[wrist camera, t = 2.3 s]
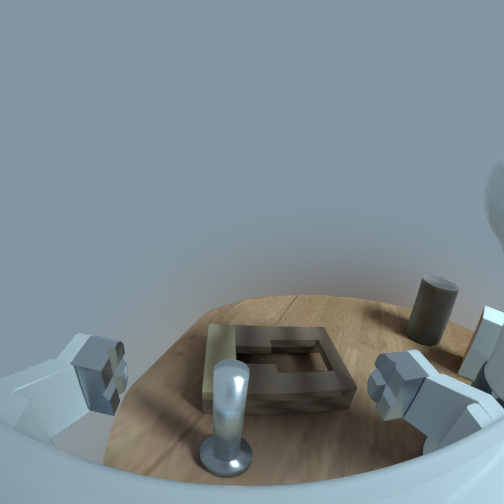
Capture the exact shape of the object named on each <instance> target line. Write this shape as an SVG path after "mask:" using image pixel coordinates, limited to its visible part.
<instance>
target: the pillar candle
mask: <svg viewBox="0 0 504 504" xmlns="http://www.w3.org/2000/svg"><path fill="white" fill-rule="evenodd" d="M458 291H459V287H458V286H457V285H456V284H455V283H453V282H451V281H449V280H447V279H444V278H443V277H442V278H441V277H437V276H431V275H424V276H423V278H422V281H421V285H420V288H419V292H418V295H417V298H416V301H415V304H414V307H413V310H412V313H411V315H410V319H409V321H408V324H407V327H406V333H407V335H408V336H409V337H410V338H411V339H412V340H414V341H416V342H417V343H420V344H424V345H429V346H433V345H436V344H438V343H439V342H440V340H441V337H442V335H443V332H444V330H445V327H446V325H447V322H448V320H449V317H450V314H451V311H452V308H453V306H454V303H455V300H456V297H457V294H458Z"/></svg>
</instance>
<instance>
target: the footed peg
mask: <svg viewBox="0 0 504 504" xmlns="http://www.w3.org/2000/svg"><path fill="white" fill-rule="evenodd" d="M249 373H250V370H249V367H248V366H247V365H246V364H245V363H243V362H241V361H239V360H234V359H226V360H222V361H220V362H218V363H217V364H216V365H215V366H214V376H213V435H212V436H210V437H208V438H207V439H205V440H204V441H203V443H202V444H201V446H200V461H201V464H202V466H203V467H204V468H205V469H206V470H207V471H208V472H209V473H211V474H213V475H215V476H218V477H223V478H231V477H236V476H239V475H241V474H242V473H244V472H245V471H246V470H247V469H248V468H249V466H250V463H251V459H252V449H251V447H250V445H249V444H248V442H247V441H246V440H244V439H243V438H241V435H242V428H243V420H244V412H245V405H246V397H247V389H248V381H249Z"/></svg>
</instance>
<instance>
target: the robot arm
mask: <svg viewBox="0 0 504 504" xmlns="http://www.w3.org/2000/svg"><path fill="white" fill-rule="evenodd" d="M484 195H485V196H484V201H485V210H486V215H487V219H488V221H489V224H490V226H491V229H492V231H493V232H494V234H495V235H496V237H497V239H498V240H499V242H500V245H501V247H502V249H503V252H504V157H501V158H499V159H498V160H497V161H496V163H495V164H494V165H493V167H492V169H491V171H490V173H489V175H488V178H487V181H486V186H485V194H484ZM124 354H125V350H124V345H123V343H122V342H121V341H117V340H112V339H108V338H103V337H98V336H94V335H89V334H85V333H77V334H76V335H75V336H74V338H73V339H72V340H71V341H70V342H69V344H68V345H67V346H66V347H65V348H64V350H63V351H62V352H61V354H60V355H59V356H58V357H57V358H56V360H54V359H50V360H47V361H44V362H42V363H39V364H37V365H34V366H32V367H29V368H27V369H24V370H21V371H18V372H16V373H13V374H10V375H8V376H5V377H2V378H0V504H504V323H503V326H502V329H501V332H500V334H499V337H498V339H497V342H496V344H495V346H494V349H493V351H492V353H491V355H490V357H489V359H488V360H487V361H486V362H484V364H483V365H482V367H481V368H480V370H479V371H478V372H477V374H476V376H475V378H474V380H473V382H472V384H471V386H469V385H467V384H465V383H462V382H460V381H458V380H456V379H453V378H451V377H449V376H447V375H445V374H439V373H438V372H437V370H436V369H435V368H434V367H433V366H432V365H431V364H430V363H429V361H428V360H427V359H426V358H425V357H424V356H423V355H422V354H421V353H420V352H419V351H418V350H415V349H414V350H407V351H403V352H394V353H383V354H380V355H379V356H378V357H377V359H376V361H375V366H376V369H375V370H374V371H373V372H372V373H371V374H370V376H369V379H368V384H367V390H368V394H369V396H370V398H371V399H372V400H373V401H375V402H377V406H376V409H377V411H378V413H379V415H380V416H381V418H382V420H383V421H387V420H392V419H398V418H402V417H404V418H403V419H405V420H406V421H407V422H409V423H410V424H411V425H413V426H414V427H416V428H417V429H418V430H420V431H421V432H422V433H424V434H425V435H427V436H428V437H427V439H426V441H425V443H424V447H423V455H422V456H419V457H417V458H414V459H411V460H408V461H405V462H402V463H398V464H395V465H392V466H388V467H385V468H381V469H377V470H373V471H369V472H365V473H361V474H356V475H351V476H346V477H341V478H335V479H329V480H323V481H315V482H307V483H298V484H286V485H268V486H228V485H210V484H198V483H189V482H181V481H173V480H167V479H161V478H155V477H150V476H145V475H140V474H136V473H131V472H127V471H123V470H119V469H115V468H112V467H108V466H105V465H101V464H98V463H95V462H91V461H88V460H86V459H83V458H80V457H77V456H74V455H72V454H69V453H66V452H64V451H61V450H59V449H56V447H55V446H54V444H53V443H52V441H51V438H52V437H54V436H55V435H56V434H58V433H59V432H61V431H62V430H64V429H65V428H67V427H68V426H69V425H71V424H72V423H74V422H75V421H76V420H78V419H79V418H81V417H82V416H84V415H85V414H86V413H88V412H89V410H91V411H95V412H99V413H103V414H108V415H112V416H114V415H115V412H116V410H117V407H118V405H119V403H120V399H119V394H121V393H122V392H124V390H125V388H126V385H127V380H128V368H127V364H126V362H125V361H124V360H123V359H122V357H123V355H124Z"/></svg>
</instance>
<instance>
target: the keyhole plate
mask: <svg viewBox="0 0 504 504" xmlns="http://www.w3.org/2000/svg"><path fill="white" fill-rule="evenodd" d="M317 352H320V354H321V356H322V359H323V361H324V363H325V365H326V367H327V369H328V371H319V372H293V373H278V371H277V367H276V364H246V365H247V366H248V367H249V370H250V373H249V381H248V389H247V397H246V405H245V412H244V415H278V414H298V413H312V412H323V411H332V410H340V409H348V407H349V405H350V403H351V401H352V398H353V396H354V394H355V391H356V389H357V386H356V385H355V383H354V381H353V379H352V377H351V375H350V374H349V372H348V370H347V368H346V366H345V364H344V363H343V361H342V359H341V357H340V355H339V353H338V352H337V350H336V348H335V346H334V344H333V343H332V341H331V339H330V337H329V335H328V334H327V332H326V330H325V328H324V327H273V326H245V325H225V324H210V323H209V327H208V336H207V346H206V356H205V366H204V377H203V388H202V407H203V413H209V414H213V376H214V366H215V365H216V364H217V363H218V362H220V361H222V360H226V359H234V360H236V353H250V354H271V353H317Z"/></svg>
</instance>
